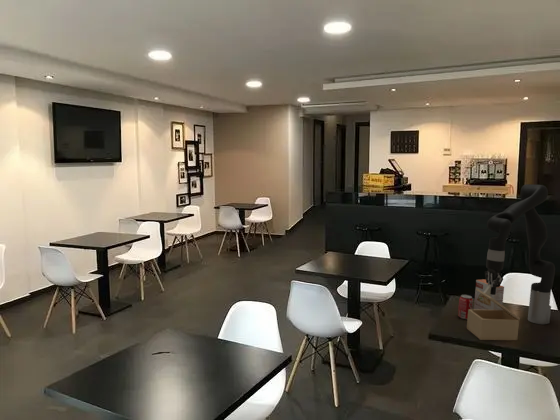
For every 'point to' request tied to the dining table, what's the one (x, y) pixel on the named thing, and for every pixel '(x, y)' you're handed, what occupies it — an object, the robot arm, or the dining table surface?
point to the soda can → (465, 306)
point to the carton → (492, 324)
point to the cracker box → (483, 301)
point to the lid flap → (487, 294)
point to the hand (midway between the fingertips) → (491, 293)
